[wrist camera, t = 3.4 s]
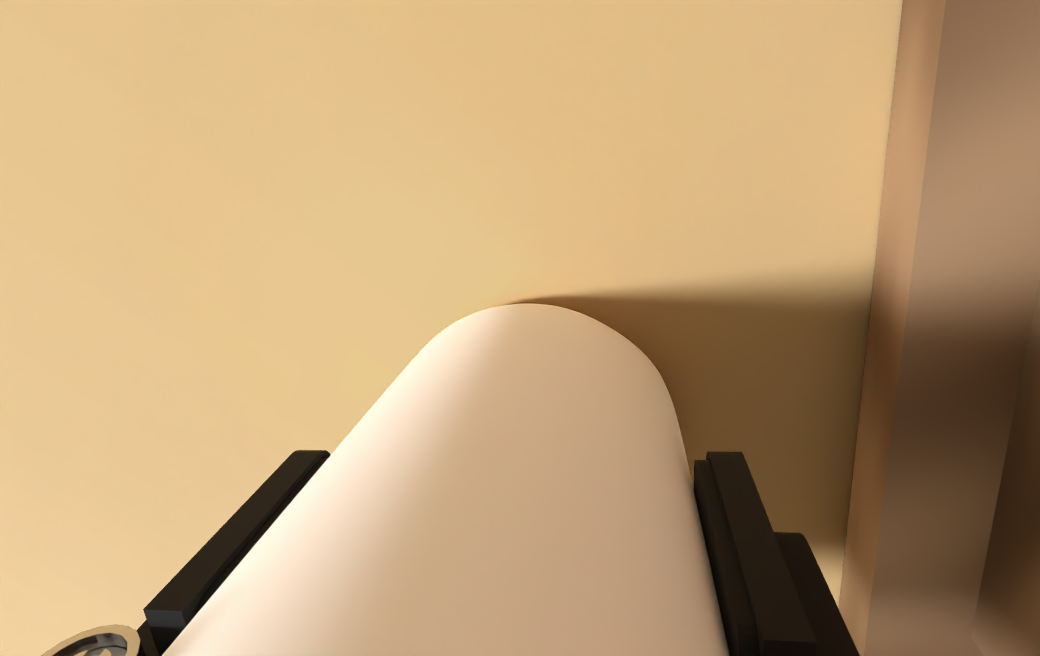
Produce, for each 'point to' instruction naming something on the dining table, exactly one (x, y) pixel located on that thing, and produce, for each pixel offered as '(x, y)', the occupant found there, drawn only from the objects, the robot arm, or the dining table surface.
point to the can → (488, 513)
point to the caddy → (953, 348)
